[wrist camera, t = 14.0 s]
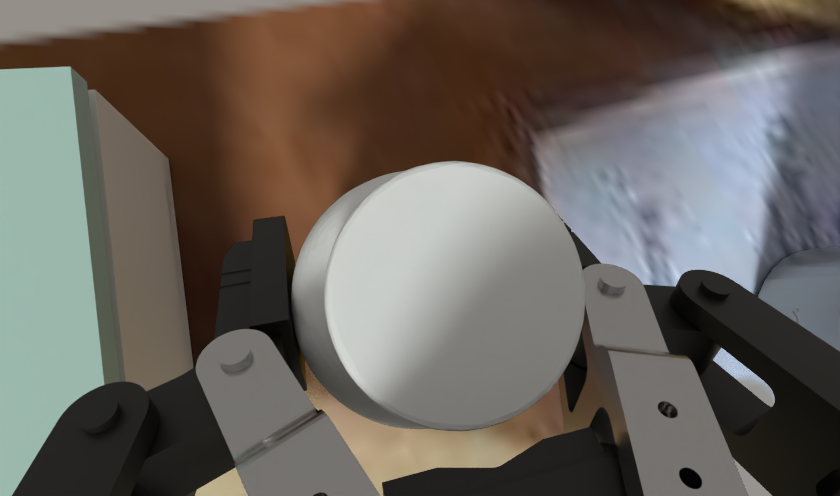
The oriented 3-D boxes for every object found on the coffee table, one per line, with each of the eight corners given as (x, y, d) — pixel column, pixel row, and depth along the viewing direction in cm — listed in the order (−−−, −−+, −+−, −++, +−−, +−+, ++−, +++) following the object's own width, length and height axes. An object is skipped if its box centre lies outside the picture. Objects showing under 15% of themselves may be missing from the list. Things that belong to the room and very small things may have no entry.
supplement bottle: (303, 227, 16) (258, 112, 6) (450, 220, 17) (605, 112, 7) (312, 384, 15) (278, 521, 6) (464, 365, 16) (652, 455, 7)
